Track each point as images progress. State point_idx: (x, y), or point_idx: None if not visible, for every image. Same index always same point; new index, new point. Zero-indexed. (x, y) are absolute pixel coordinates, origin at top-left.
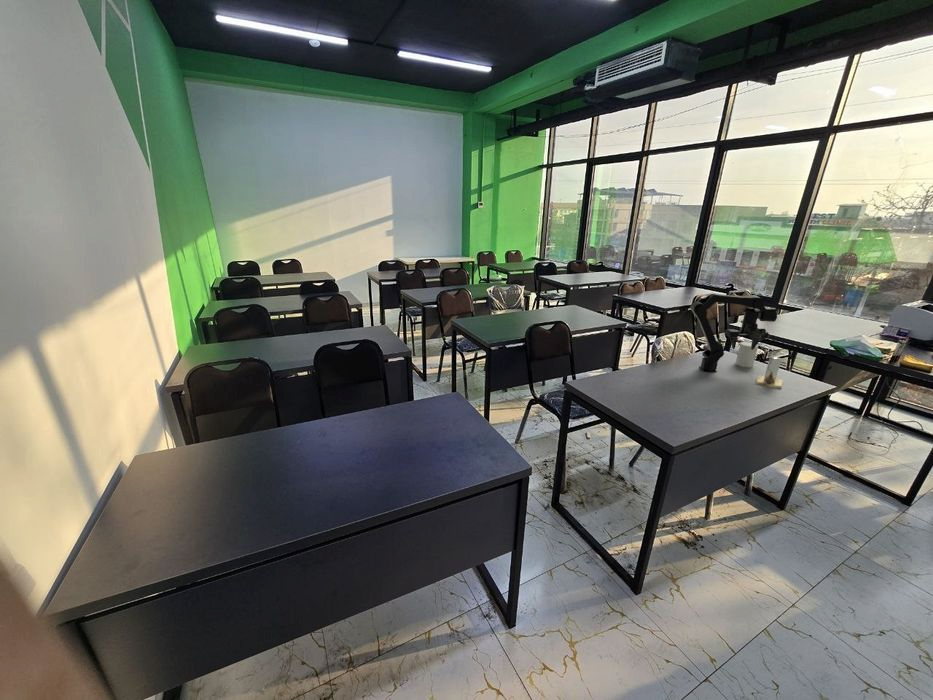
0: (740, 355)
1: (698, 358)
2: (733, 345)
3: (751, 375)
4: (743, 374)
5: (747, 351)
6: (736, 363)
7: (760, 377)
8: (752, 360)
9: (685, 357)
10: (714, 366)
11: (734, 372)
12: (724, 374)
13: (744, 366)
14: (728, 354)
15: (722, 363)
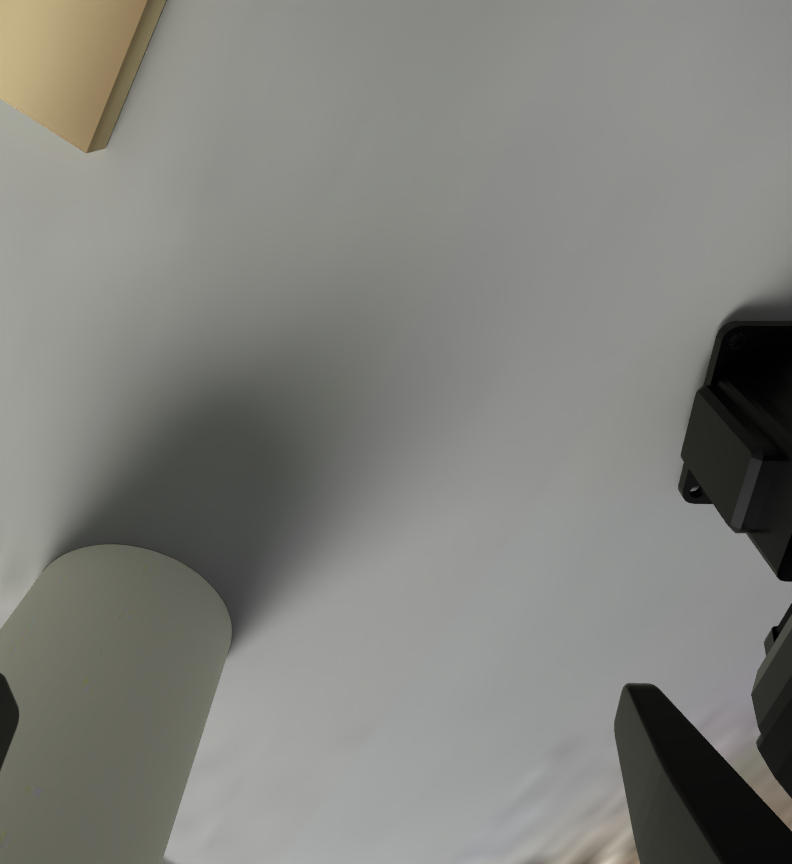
0: (176, 728)
1: (615, 748)
2: (784, 829)
3: (185, 233)
4: (304, 267)
5: (59, 779)
6: (228, 634)
7: (87, 14)
8: (23, 627)
9: (758, 765)
10: (786, 399)
11: (411, 343)
12: (643, 236)
13: (158, 558)
14: (196, 843)
15: (402, 637)
